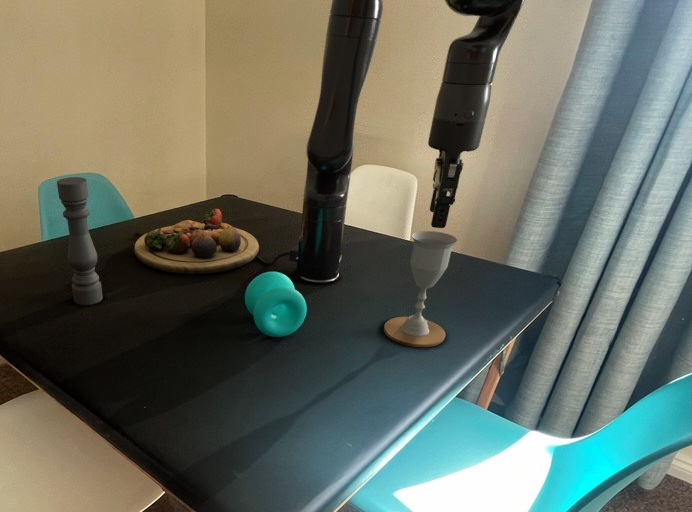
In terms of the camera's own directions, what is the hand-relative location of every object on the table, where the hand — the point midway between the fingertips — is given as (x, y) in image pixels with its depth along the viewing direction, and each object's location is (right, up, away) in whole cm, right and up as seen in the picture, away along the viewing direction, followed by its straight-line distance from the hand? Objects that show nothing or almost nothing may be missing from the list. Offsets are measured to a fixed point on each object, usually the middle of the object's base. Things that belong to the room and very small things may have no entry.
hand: (436, 219), depth 93 cm
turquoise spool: (-26, -18, +14) cm, 34 cm away
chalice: (+1, -18, +12) cm, 22 cm away
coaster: (0, -19, +12) cm, 22 cm away
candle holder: (-65, -11, +26) cm, 71 cm away
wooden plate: (-42, +4, +49) cm, 65 cm away
